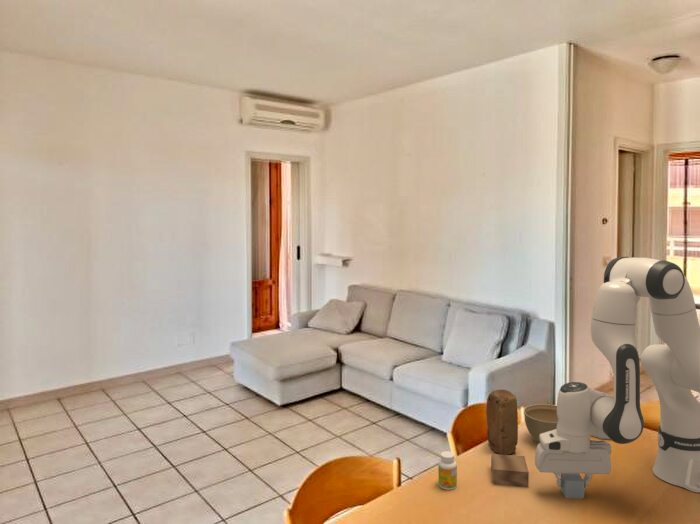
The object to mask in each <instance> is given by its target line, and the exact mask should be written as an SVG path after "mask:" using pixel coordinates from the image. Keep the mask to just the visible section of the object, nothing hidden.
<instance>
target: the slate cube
mask: <svg viewBox="0 0 700 524" xmlns="http://www.w3.org/2000/svg"><path fill="white" fill-rule="evenodd" d="M560 478H561V479H563V481H564V487H559V489H560V491H561V492H562V494H563V497H565V498H566V499H585V488H584V480H583V477H582V476H581V474H579V473H560Z"/></svg>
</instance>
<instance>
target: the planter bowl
mask: <svg viewBox="0 0 700 524" xmlns="http://www.w3.org/2000/svg"><path fill="white" fill-rule="evenodd" d="M523 415H524V422H525V426H526V429H527V431H528V433H529V435H530V436H531V437H532V438H533V442H534V443H535V444H536V445H538V444H539V443H541V442H540V439H539V435H540V434H541V433H545V432H548V431H552V430H555V429H556V427H557V423H558V416H557V405H555V404H548V403H547V404H546V403H537V404H536V403H535V404H531V405H528V406H525V407H524V408H523Z"/></svg>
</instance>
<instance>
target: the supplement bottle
mask: <svg viewBox="0 0 700 524" xmlns="http://www.w3.org/2000/svg"><path fill="white" fill-rule="evenodd" d="M456 461H457V460H455V453H454V452H452V451H450V450H449V451H446V450H444V451H442V452H441V453H440V459H439V460H438V462H437V463H438V464H437V465H438V468H437V469H438V486H439V487H440V488H441V489H442V490H447V491H449V490H450V491H451V490H455V489H456V488H457V486H458V478H457V477H458V472H457V471H458V470H457V469H458V464H457V462H456Z"/></svg>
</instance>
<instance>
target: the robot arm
mask: <svg viewBox="0 0 700 524" xmlns="http://www.w3.org/2000/svg"><path fill="white" fill-rule="evenodd" d="M683 271H684V270H682V268H681V267H680V266H679V265H677V264H676V263H674V262H671V261H669V260H663V259H662V260H660V259H656V258H650V257H629V256H618V257H615V258H613V259H611V260H610V261H609V262H608V263H607V265H606V267H605V270H604V273H603V283H602V284H601V285H600V286H599V287H598V290H597V291H596V292H597V293H596V295H595V299H594V301H593V302H594V303H593V307H592V314H591V320H590V334H591V335H590V336H591V340H592V343H593V344H594V346H595V347H596V348H597V349H598V351H600V352H601V353H602V355H603V356H604V357H605V358H606V360H607V361H608V363H609V365H610V367H611V369H612V372H613V396H612V395H610V394H609V393H606V392H604V391H601V390H600V391H599V390H596V389H593V388H592V387H590V386H588V385H587V384H586V383H584V382H578V381H571V382H566V383H564V384H563V385H561V386H560V387H559V390H558V393H557V400H556V406H557V416H558V423H557V427H556V429H555V430H552V431H548V432H545V433H541V434H540V435H539V439H540V442H541V443H539V444H536V445H537V446H536V448H535V455H534V465H535V468H536V469H537V470H538V471H539V473H553V474H554V477H555V478H556V485H557V487H559V488H560V487H564V481H563V479H561V473H579V474H580V475H581V474H582V475H583V474H584V476H583V477H582V479H583V480H584V489H586V488H587V489H588V485H589V484H588V483H589V482H590V481H591V479H592V477H593V475H609V474H610V473H611V472H612V461H611V456H610V455H611V454H612V445H611V444H610V443H609V442H607V440H604V439H600V440H595V439H594V440H591V435H590V429H591V428H592V427H597V428H599V429H600V430H601V431H603V432H604V433H605V434H606V435H607V436H608V437H609V438H610V439H609V440H611V441H612V442H614V443H615V444H619V445H625V444H631V443H633V442H634V441H636V440H638V439H639V438H640V436H641V435H642V433H643V430H644V427H645V422H644V421H645V420H644V417H643V413H642V408H641V377H640V376H641V372H640V371H641V369H643V371H644V372H645V373H646V374H647V376H648V377H649V378H650V379H651V381H652V383H653V385H654V388H655V390H656V393H657V395H658V396H657V397H658V400H659V410H660V411H659V412H660V413H659V414H660V416H659V418H660V419H659V421H660V422H659V423H660V424H659V426H658V431H657V432H658V433H657V445H658V446H657V449H658V450H657V454H656V458H655V461H654V464H653V466H652V469H651V471H652V473H653V474H654V475H655V476H656V477H657V478H659V479H660V480H662V481H663V482H666V483H668V484H671V485H673V486H676V487H677V486H678V487H681V488H684V489H687V491H691V492H693V493H700V401H699V400H698V398H696V397H695V396H694V394H693V391H694V392H696V393H699V394H700V322H699V318H698V317H699V316H698V313H697V307H696V302H695V298H694V294H693V290H692V288H691V286H690V283H689V281H688V279H687V277H686V275H685V273H684V272H683ZM641 298H648V299H649V307H650V313H651V316H652V321H653V327H654V332H655V334H656V336H657V337H658V339H659V340H660V341H662V342H663V343H664V344H660V343H657V344H649V345H648V346H647V347H645V349H644V350H643V351H642V353H641V356H639V352H638V348H637V344H636V325H637V324H636V323H637V311H638V310H637V309H638V308H637V305H638V303H639V301H641ZM640 367H641V368H640Z"/></svg>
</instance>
